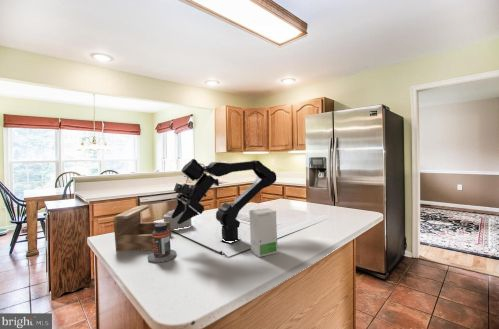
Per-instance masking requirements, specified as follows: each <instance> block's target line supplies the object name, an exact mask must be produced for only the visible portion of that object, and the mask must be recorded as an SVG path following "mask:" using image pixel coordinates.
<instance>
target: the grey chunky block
mask: <svg viewBox="0 0 499 329" xmlns="http://www.w3.org/2000/svg"><path fill="white" fill-rule="evenodd" d="M174 210H175V208H174V209H173V210H169V211H168V212H167V213H166V214H164V215H163V222H170V230H171V232H174V231H173V230H174V229H178V228H184V227H189V226H191V225H192V218H190V219H188V220H187V221H185V222H183V223H181V224H178V223H177V222H178V220H179V218H180V217H181V215H182V213H183V212H182V213H181V214H179V215H178V216H177V217H175V218H174V219H173V218H172V217H171V216H172V214H173V212H174ZM192 226H193V225H192Z"/></svg>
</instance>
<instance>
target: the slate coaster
mask: <svg viewBox="0 0 499 329" xmlns="http://www.w3.org/2000/svg"><path fill="white" fill-rule="evenodd" d="M176 257H177V252H176V250H175V249H171V253H170V254H169V255H168V256H165V257H155V256H154V251H153V252H151V253H149V254H148V255H147V257H146V258H147V262H149V263H153V264H160V263H165V262H169V261H172V260H174V258H176Z"/></svg>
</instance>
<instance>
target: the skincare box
mask: <svg viewBox="0 0 499 329" xmlns="http://www.w3.org/2000/svg"><path fill="white" fill-rule="evenodd" d="M248 212H249V231H250V232H249V234H250V252H251V253H252V254H254V255H255V256H256V257H258V258H261V257H265V256H269V255H273V254H277V253H278V231H277V230H278V227H277V226H278V225H277V224H278V223H277V210H274V209H271V208H268V207H266V208H257V209H253V210H252V209H251V210H249V211H248Z"/></svg>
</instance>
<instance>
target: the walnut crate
mask: <svg viewBox="0 0 499 329" xmlns="http://www.w3.org/2000/svg"><path fill="white" fill-rule="evenodd" d="M147 209H150V206H149V205H136V206H135V207H132V208H130V209H128V210H125V211H124V212H121V213H119V214H117V215H115V216H113V217H114V218H113V231H114V232H113V233H114V244H115V251H116V252H122V251H129V252H130V251H131V252H132V251H154V250H153V231H155V225H156V224H159V223H166V226H167V227H166V228H167V229H168V230H169V232H170V236H171V234H172V233H171V232H172V231H171V230H170V222H164V221H161V222H158V221H157V222H141V217H140V213H141V212H144V211H146V210H147Z"/></svg>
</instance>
